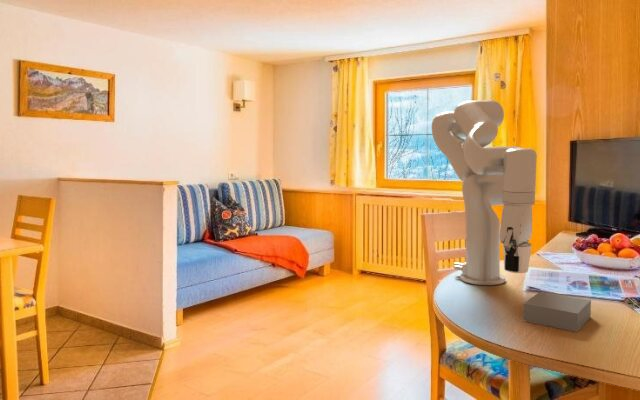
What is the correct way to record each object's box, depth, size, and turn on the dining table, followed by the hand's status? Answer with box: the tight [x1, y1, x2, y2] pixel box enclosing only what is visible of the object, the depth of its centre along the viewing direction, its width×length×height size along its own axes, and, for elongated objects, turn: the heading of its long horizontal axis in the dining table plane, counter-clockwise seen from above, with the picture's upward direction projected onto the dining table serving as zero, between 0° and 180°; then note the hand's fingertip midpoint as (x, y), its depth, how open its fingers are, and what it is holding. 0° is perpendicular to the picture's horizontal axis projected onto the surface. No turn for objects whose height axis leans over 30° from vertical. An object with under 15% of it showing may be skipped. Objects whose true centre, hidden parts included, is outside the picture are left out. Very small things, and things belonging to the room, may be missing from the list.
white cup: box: [502, 241, 533, 274], centre depth 120 cm, size 7×7×7 cm
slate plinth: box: [522, 291, 592, 333], centre depth 107 cm, size 11×11×4 cm
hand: (516, 267), depth 121 cm, fingers closed on white cup, 5 cm apart
